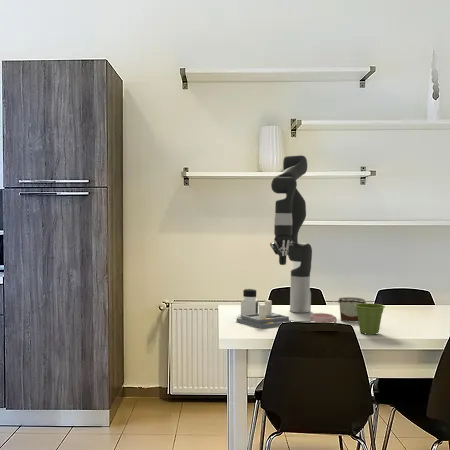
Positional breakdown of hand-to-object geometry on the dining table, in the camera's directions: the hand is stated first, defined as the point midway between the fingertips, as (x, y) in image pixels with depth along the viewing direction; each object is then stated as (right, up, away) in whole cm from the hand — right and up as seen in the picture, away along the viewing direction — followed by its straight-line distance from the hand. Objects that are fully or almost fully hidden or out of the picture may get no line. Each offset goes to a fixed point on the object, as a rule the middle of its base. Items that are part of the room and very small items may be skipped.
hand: (282, 264), depth 241 cm
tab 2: (-6, -24, +9) cm, 26 cm away
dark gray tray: (-7, -25, +4) cm, 27 cm away
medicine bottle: (-13, -25, +22) cm, 36 cm away
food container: (+33, -26, +13) cm, 44 cm away
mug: (+16, -26, -7) cm, 32 cm away
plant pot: (+33, -27, -13) cm, 45 cm away
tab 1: (-9, -24, -2) cm, 25 cm away
